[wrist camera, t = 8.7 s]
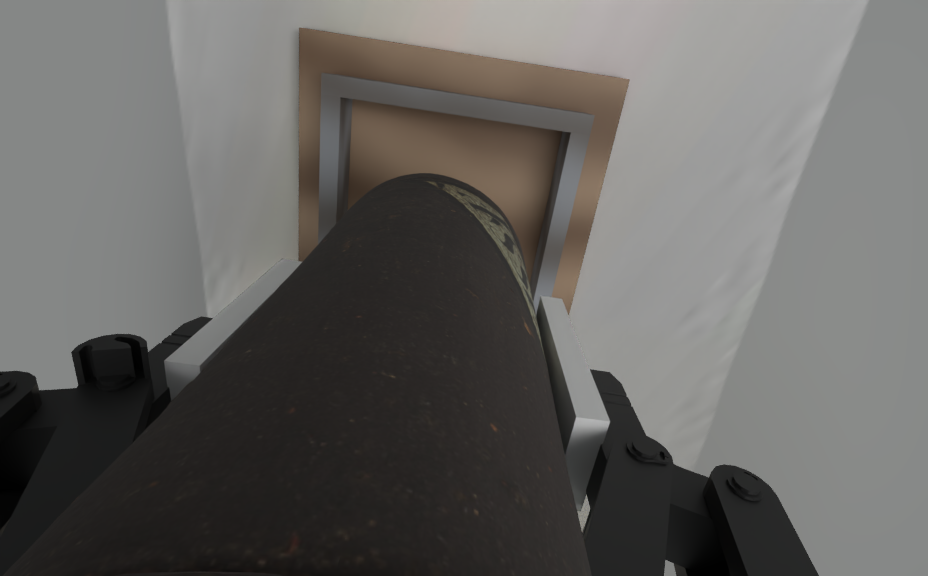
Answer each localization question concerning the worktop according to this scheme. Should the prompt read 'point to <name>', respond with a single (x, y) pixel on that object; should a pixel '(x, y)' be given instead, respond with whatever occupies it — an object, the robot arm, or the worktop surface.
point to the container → (354, 421)
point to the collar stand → (457, 140)
